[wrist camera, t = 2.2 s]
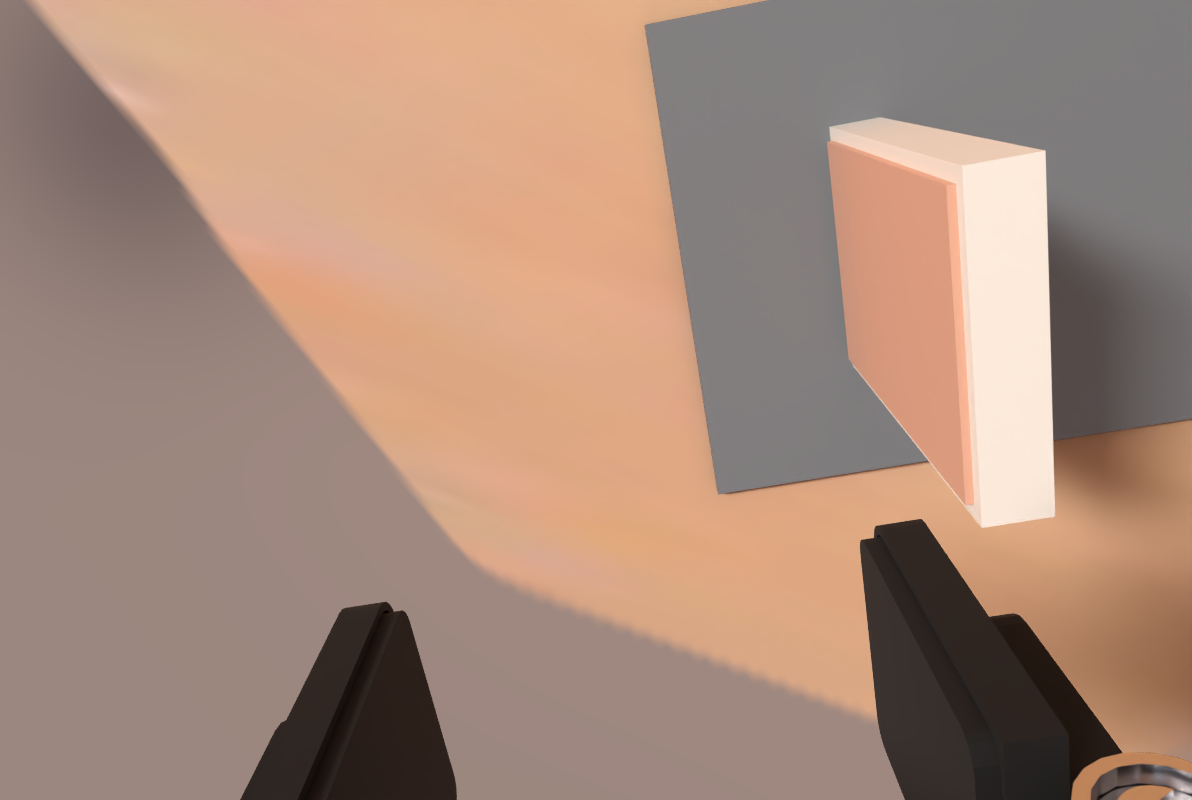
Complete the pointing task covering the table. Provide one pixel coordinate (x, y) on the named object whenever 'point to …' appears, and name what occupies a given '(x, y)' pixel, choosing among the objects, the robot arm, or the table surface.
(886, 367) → the tile
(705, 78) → the mat
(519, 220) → the table surface
